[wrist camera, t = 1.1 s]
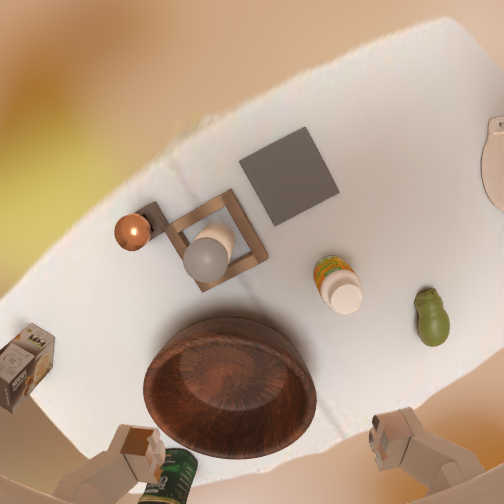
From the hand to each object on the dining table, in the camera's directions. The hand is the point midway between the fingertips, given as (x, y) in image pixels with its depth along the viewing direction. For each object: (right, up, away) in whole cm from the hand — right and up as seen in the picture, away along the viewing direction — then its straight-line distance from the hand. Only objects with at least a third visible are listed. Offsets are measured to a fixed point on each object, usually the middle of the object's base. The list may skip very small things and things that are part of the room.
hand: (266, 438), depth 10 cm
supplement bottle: (+11, +4, +36) cm, 37 cm away
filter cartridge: (-5, +8, +35) cm, 36 cm away
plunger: (-15, +10, +31) cm, 36 cm away
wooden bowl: (-4, -13, +41) cm, 43 cm away
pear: (+28, -3, +37) cm, 47 cm away
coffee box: (-43, -12, +42) cm, 61 cm away
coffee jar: (-17, -38, +48) cm, 64 cm away
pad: (+4, +17, +32) cm, 37 cm away
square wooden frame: (-8, +9, +34) cm, 37 cm away
